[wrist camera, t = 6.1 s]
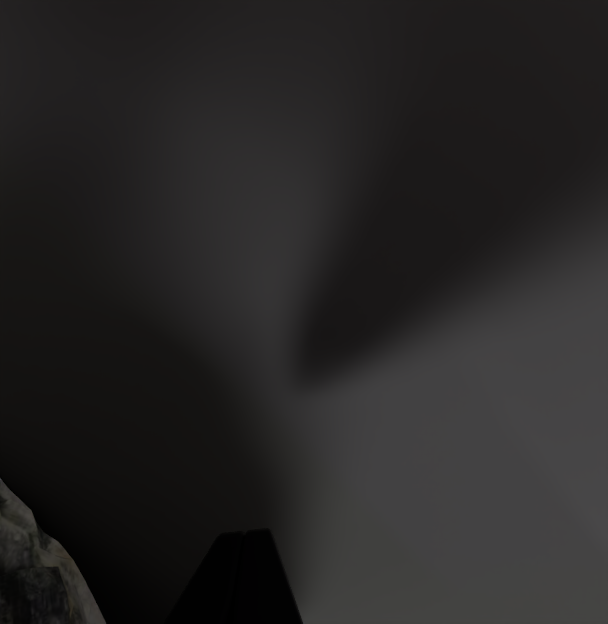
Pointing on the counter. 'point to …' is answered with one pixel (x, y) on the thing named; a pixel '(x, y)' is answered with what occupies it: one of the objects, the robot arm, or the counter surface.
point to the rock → (38, 573)
